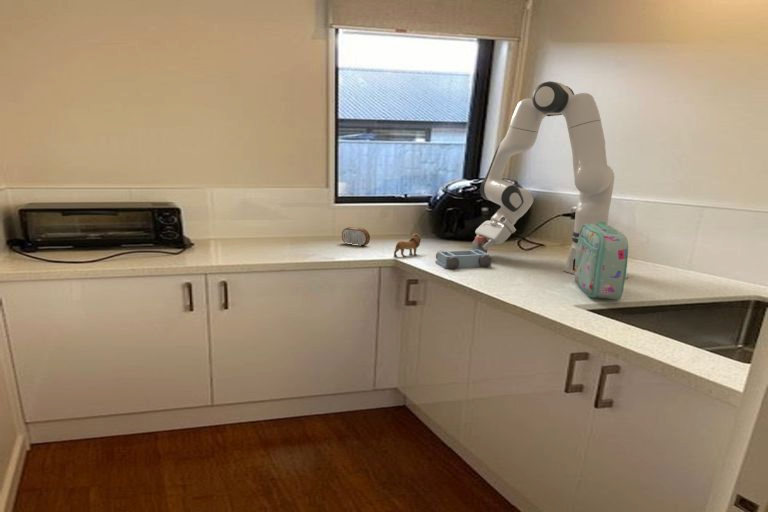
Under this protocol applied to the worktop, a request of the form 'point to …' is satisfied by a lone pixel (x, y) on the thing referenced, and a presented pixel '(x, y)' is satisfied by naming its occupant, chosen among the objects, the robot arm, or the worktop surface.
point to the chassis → (463, 259)
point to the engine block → (479, 243)
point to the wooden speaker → (356, 236)
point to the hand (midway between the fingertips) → (478, 246)
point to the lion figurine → (408, 245)
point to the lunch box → (601, 261)
